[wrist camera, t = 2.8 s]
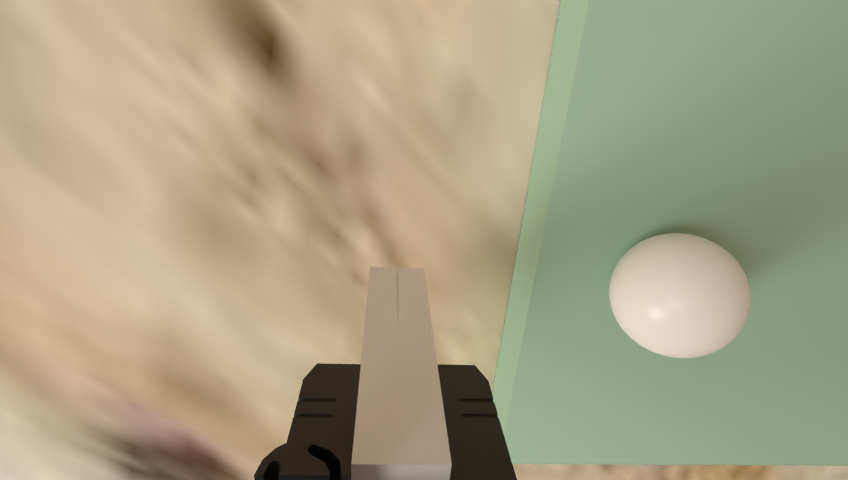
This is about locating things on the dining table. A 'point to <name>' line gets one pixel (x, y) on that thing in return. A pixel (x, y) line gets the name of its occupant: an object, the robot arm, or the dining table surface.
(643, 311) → the ball
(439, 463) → the robot arm
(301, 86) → the dining table surface
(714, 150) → the green
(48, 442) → the dining table surface
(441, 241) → the dining table surface
